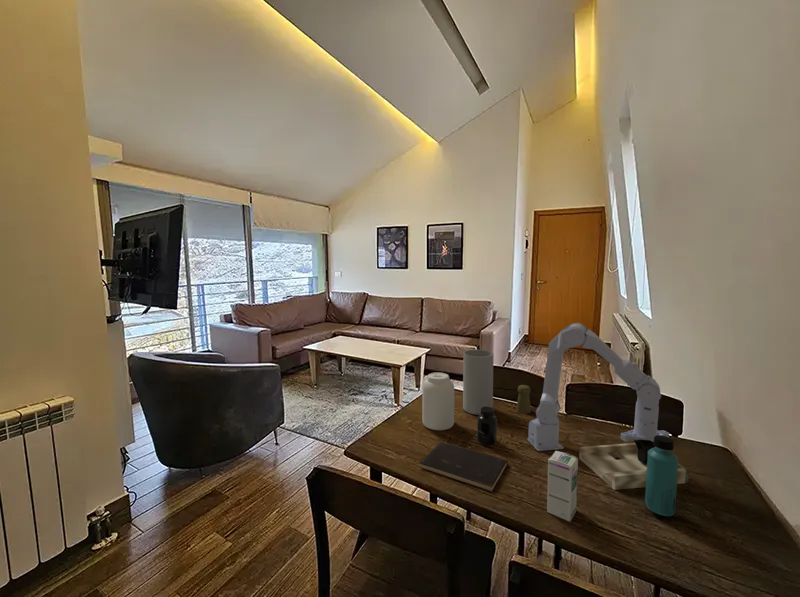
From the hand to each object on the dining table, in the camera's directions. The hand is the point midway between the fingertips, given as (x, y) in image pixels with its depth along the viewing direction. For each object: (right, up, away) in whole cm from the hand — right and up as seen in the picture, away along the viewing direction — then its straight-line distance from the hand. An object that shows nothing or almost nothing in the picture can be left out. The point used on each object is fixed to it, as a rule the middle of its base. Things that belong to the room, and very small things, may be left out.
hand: (642, 461), depth 110 cm
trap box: (-4, -3, 0) cm, 5 cm away
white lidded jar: (-59, 0, +32) cm, 68 cm away
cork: (-21, +2, +44) cm, 49 cm away
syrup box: (-33, -5, -18) cm, 38 cm away
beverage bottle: (-9, -5, -19) cm, 21 cm away
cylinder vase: (-41, +2, +45) cm, 61 cm away
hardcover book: (-54, -3, +3) cm, 55 cm away
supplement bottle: (-43, -1, +18) cm, 47 cm away
